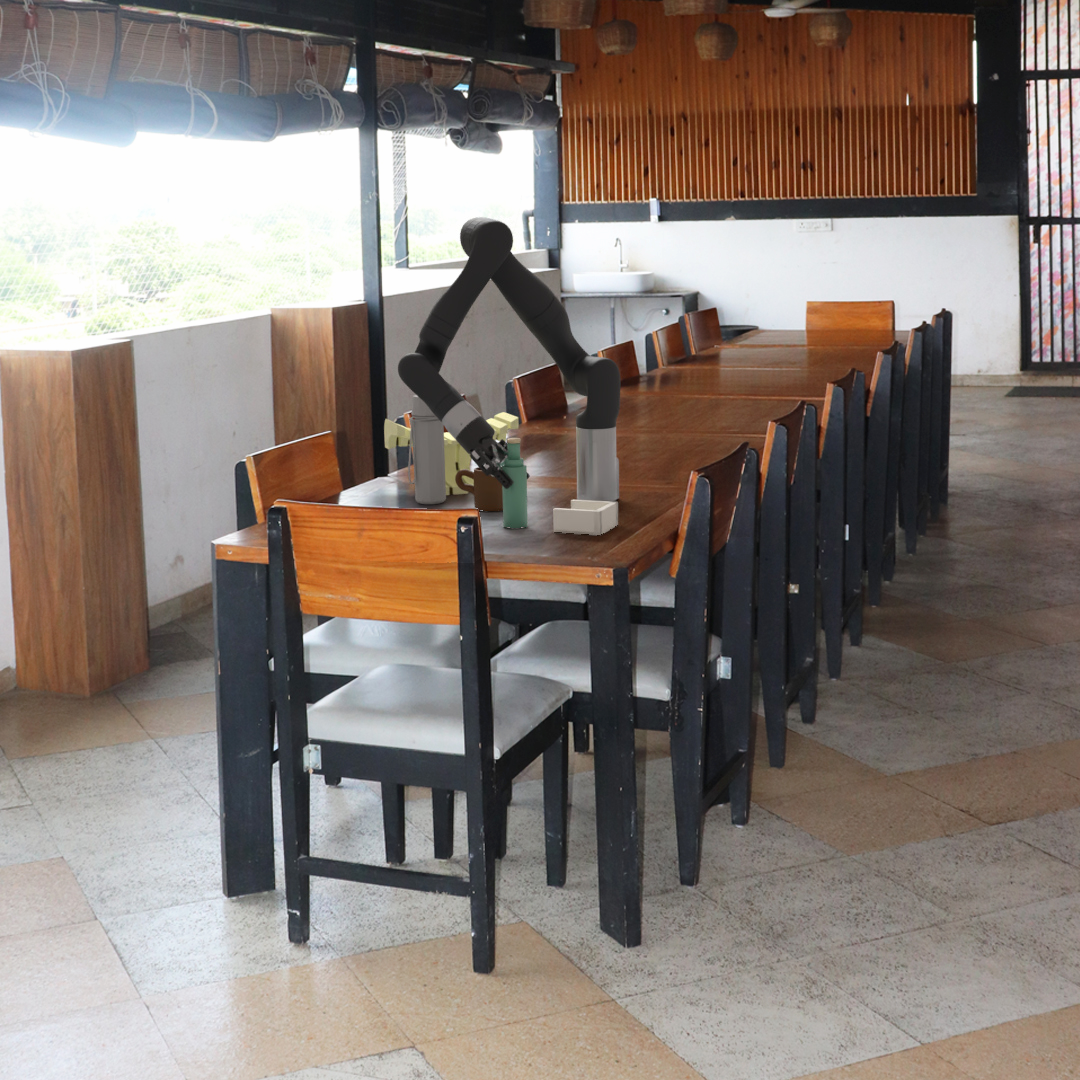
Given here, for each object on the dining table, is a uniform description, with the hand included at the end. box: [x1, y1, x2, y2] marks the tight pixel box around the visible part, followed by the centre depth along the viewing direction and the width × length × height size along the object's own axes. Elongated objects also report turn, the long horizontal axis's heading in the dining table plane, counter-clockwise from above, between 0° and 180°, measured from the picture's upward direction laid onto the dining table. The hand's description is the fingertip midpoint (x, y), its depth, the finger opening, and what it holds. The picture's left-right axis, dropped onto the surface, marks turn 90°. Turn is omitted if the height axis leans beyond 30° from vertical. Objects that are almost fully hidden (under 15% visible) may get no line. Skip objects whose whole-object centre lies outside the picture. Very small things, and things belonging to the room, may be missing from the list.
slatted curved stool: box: [383, 411, 520, 496], centre depth 334 cm, size 30×16×18 cm, turn 108°
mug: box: [455, 466, 503, 512], centre depth 308 cm, size 12×8×9 cm, turn 79°
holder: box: [552, 499, 619, 536], centre depth 284 cm, size 10×11×5 cm
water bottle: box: [407, 394, 447, 505], centre depth 316 cm, size 9×8×25 cm
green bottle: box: [501, 437, 529, 528], centre depth 287 cm, size 5×5×19 cm
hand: (518, 482), depth 286 cm, fingers open, 8 cm apart
